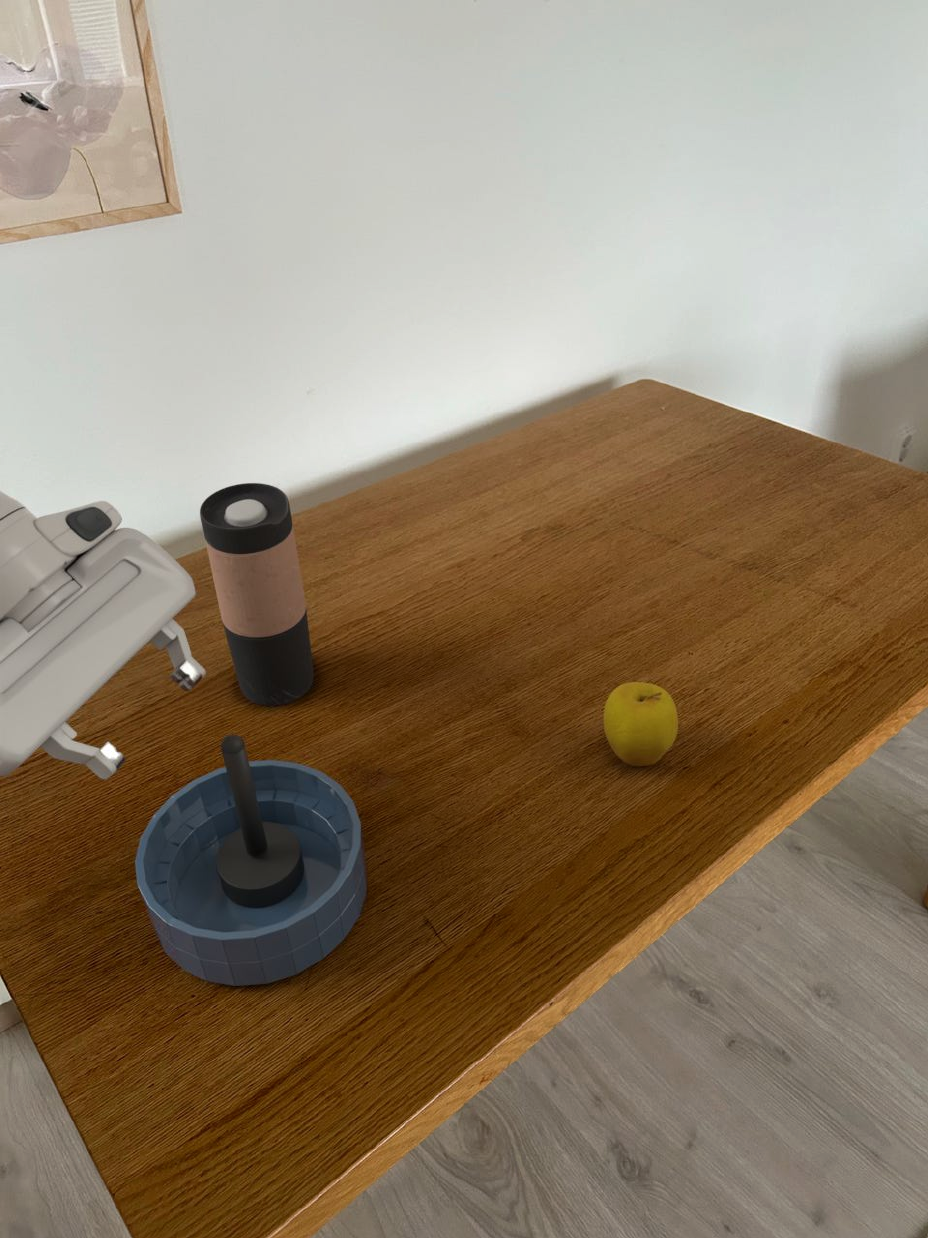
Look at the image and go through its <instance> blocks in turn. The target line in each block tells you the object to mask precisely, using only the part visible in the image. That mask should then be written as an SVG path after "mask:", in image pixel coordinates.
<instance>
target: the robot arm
mask: <svg viewBox="0 0 928 1238" xmlns="http://www.w3.org/2000/svg"><path fill="white" fill-rule="evenodd" d="M122 521H123V518H122V515H121V513H120V512H119V510H117V508H116V507H114V505H113V504H111V503H109V502H108V501H106V500H98V501H94V502H90V503H88V504H84V505H81V506H78V507H74V508H70V509H67V510H62V511H58V512H55V513H50V514H45V515H42V516H39V517H36V515H34V514H33V513H32V512H31V511H30V510H29V509H28V508H27V507H26V506H25V505H24V504H23V503H22V502H20V501H18V500H17V499H15V498H13V497H11V496H9V495H8V494H6V493H4V492H3V491H2V490H0V776H1V777H7V776H9V775H11V774H12V773H13V772H15V771H16V770H17V769H18V768H19V767H20V766H22V764H24V762H25V761H27V760H28V759H29V758H30V757H31V756H32V755H33V754H34V753H35V752H36V751H37V750H38V749H39V748H41V749H42V750H43V751H44V752H45V753H47V754H48V755H49V756H50V757H51V758H52V759H55V760H60V761H63V762H64V761H66V762H69V763H72V764H73V763H74V764H79V765H82V766H83V765H85V766H86V767H87V768H88V769H89V770H91V771H92V773H94V774H95V775H96V776H97V777H98V778H100V779H101V780H103V781H106V780H107V779H110V778H111V777H112V776H113V775H114V774H115V773H116V772H117V771H118V769H119V768H120V767H121V766H123V764H124V763H125V762H126V757H125V756H124V753H122V752H120V751H117V748H116V747H115V746H114V745H113V744H112V743H111V742H110V741H107V742H105V743H104V744H103V745H102V746H100V747H96V746H93V745H90V744H86V743H82V742H80V741H75V740H74V739H75V738H76V737H77V736H78V733H77V731H76V730H74V729H73V728H72V726H70V725H69V724H68V723H67V721H68V720H69V719H70V718H71V717H72V716H73V715H74V714H75V713H76V712H77V711H78V710H79V709H80V708H81V707H83V705H85V704H86V703H87V702H88V701H89V700H90V699H91V698H92V697H93V696H94V695H95V694H97V692H98V691H99V690H100V689H101V688H102V687H103V686H104V685H105V684H106V683H107V682H109V680H110V679H111V678H112V677H114V676H115V674H117V673H118V672H119V671H120V670H121V669H122V668H123V667H124V666H125V665H126V664H127V663H128V662H129V661H130V660H131V659H132V658H133V657H135V655H136V654H137V653H138V652H139V651H141V649H143V648H144V647H145V646H146V645H147V644H148V643H149V642H150V643H151V644H152V645H153V646H154V647H155V648H157V650H159V651H162V650H164V649H166V651H167V654H168V656H169V659H170V662H171V664H172V667H173V669H174V670H173V671H172V672H171V673H170V674H169V675H168V677H169V678H170V679H171V680H172V681H173V682H174V683H177V684H178V686H179V688H180V689H182V690H183V691H184V692H189V691H191V690H192V689H193V688H194V687H196V685H197V684H198V683H199V682H200V681H202V679H203V678H204V677H205V676H206V675H207V671H206V669H205V668H204V667H203V666H202V665H201V664H200V663H199V662H198V661H197V660H196V659H195V658H194V657H193V654H192V650H191V648H190V644H189V640H188V638H187V636H186V632H185V629H184V628H183V627H182V626H180V624H179V623H177V621H176V620H175V619H174V618H175V617H176V616H177V615H178V614H179V613H180V612H181V611H182V610H183V609H184V608H185V607H186V606H187V605H188V604H189V603H190V602H191V601H193V599H194V598H195V597H196V595H197V593H196V588H195V587H196V586H195V583H194V580H193V578H192V576H191V575H190V574H189V572H188V571H187V570H186V569H185V568H184V567H183V566H182V565H181V564H180V563H179V562H178V561H177V560H176V559H175V558H174V557H173V556H172V555H170V553H168V552H167V551H166V550H165V549H164V548H162V546H160V545H159V544H158V543H157V542H156V541H155V540H153V539H152V538H151V537H150V536H148V535H147V534H145V533H144V532H142V531H140V530H138V529H135V528H132V527H120V528H119V526H120V525H121V523H122Z"/></svg>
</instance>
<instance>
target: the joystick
mask: <svg viewBox="0 0 928 1238" xmlns="http://www.w3.org/2000/svg"><path fill="white" fill-rule="evenodd" d="M220 750H221V754H222V758H223V763H224V767H226V771H227V775H228V779H229V783H230V787H231V791H232V795H233V799H234V803H235V807H236V811H237V815H238V819H239V823H240V827H241V828H239V829H238V830H236V831H234V832H233V833H232V834H231V835H229V836H228V837H227V838H226V839H225V840H224V842H223V843H222V845H221V846H220V848H219V851H218V853H217V857H216V867H217V870H218V874H219V877H220V881H221V885H222V888H223V890H224V893H225V894H226V895H227V897H228V898H229V899H230V900H232V901H233V902H234V903H236V904H238V905H241V906H243V907H248V908H264V907H268V906H272V905H275V904H277V903H279V902H281V901H283V900H285V899H286V898H287V897H289V896H290V895H291V894H292V893H293V892H294V891H295V890H296V889H297V887H298V886H299V884H300V882H301V880H302V878H303V874H304V862H303V857H302V852H301V847H300V842H299V840H298V838H297V836H296V835H295V834H294V832H293V831H291V830H290V829H289V828H287V827H286V826H284V825H282V824H278V823H274V822H262V819H261V814H260V810H259V806H258V801H257V797H256V792H255V788H254V783H253V779H252V775H251V770H250V766H249V761H250V760H249V758H248V757H249V756H248V754H247V748H246V745H245V741H244V739H243V738H242V737H241V735H238V734H234V733H233V734H228V735H226V736H225V737H224V738H223V739H222V741H221V742H220Z"/></svg>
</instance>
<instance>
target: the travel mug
mask: <svg viewBox="0 0 928 1238" xmlns="http://www.w3.org/2000/svg"><path fill="white" fill-rule="evenodd" d="M199 518H200V523H201V527H202V531H203V537H204V541H205V546H206V550H207V556H208V559H209V560H208V561H209V565H210V571H211V574H212V580H213V584H214V589H215V594H216V599H217V603H218V609H219V613H220V618H221V621H222V626H223V630H224V633H225V637H226V641H227V644H228V648H229V651H230V656H231V660H232V663H233V668H234V671H235V674H236V678H237V682H238V685H239V686H238V687H239V688H240V691H241V693H242V695H243V696H244V697H245V699H247V700H248V701H250V702H251V703H254V704H257V705H260V706H267V707H277V706H282V705H287V704H289V703H292V702H295V701H297V700H299V699H300V698H301V697H303V696H304V695H305V694H306V693H307V692H308V691H309V690H310V689H311V687H312V685H313V682H314V667H313V655H312V646H311V638H310V637H311V636H310V628H309V620H308V611H307V605H306V604H307V603H306V598H305V592H304V591H305V590H304V585H303V584H304V583H303V578H302V572H301V567H300V561H299V555H298V548H297V542H296V536H295V531H294V525H293V524H294V523H293V519H292V512H291V505H290V501H289V498H288V496H287V494H286V493H285V492H284V491H283V490H282V489H280V488H279V487H277V486H274V485H270V484H266V483H261V482H245V483H238V484H233V485H230V486H225V487H224V488H221V489H219V490H217V491H215V492H213V493H212V494H210V495H209V496H207V497H206V498H205V499H204V500H203V502H202V503H201V505H200V508H199Z"/></svg>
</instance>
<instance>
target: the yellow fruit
mask: <svg viewBox="0 0 928 1238" xmlns="http://www.w3.org/2000/svg"><path fill="white" fill-rule="evenodd" d="M677 711H678V710H677V707H676V704H675V701H674V699H673V698H672V696H671V694H669V692H668V691H666V690H665V689H664V688H662V687H661V686H659V685H656V684H654V683H650V682H641V681H632V682H631V681H630V682H626V683H622V684H620V685H619V686H616V688H615V689H614V690H612V692H611V693H610V694H609V696H608V698H607V700H606V702H605V705H604V710H603V728H604V733H605V737H606V740H607V742H608V744H609V746H610V748H611V749H612V751H613V753H614V754H615V755H616V756H617V758H618V759H620V760H621V761H623V763H625V764H627V765H629V766H630V767H645V766H652V765H654V764H656V763H657V762H658V761H660V760H661V759H662V758H663V756H664V755H665V754H666V752H668V751H669V749H670V748H672V745H673V744H674V743H675V741H676V739H677V735H678V730H679V717H678V712H677Z"/></svg>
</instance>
